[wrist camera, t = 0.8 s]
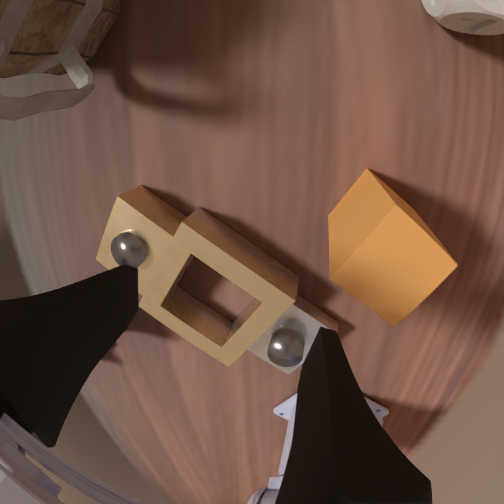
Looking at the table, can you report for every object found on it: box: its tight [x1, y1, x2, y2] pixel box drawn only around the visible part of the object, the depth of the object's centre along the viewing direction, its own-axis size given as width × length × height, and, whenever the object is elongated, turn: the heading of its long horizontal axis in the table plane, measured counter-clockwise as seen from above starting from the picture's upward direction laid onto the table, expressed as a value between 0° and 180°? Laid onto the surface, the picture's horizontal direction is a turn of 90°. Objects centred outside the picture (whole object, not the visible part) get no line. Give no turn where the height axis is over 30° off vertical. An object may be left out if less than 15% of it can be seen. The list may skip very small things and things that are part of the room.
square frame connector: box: [96, 185, 338, 375], centre depth 21 cm, size 18×8×4 cm, turn 57°
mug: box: [0, 0, 120, 121], centre depth 11 cm, size 16×11×12 cm
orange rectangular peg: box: [328, 168, 458, 327], centre depth 15 cm, size 4×4×8 cm
